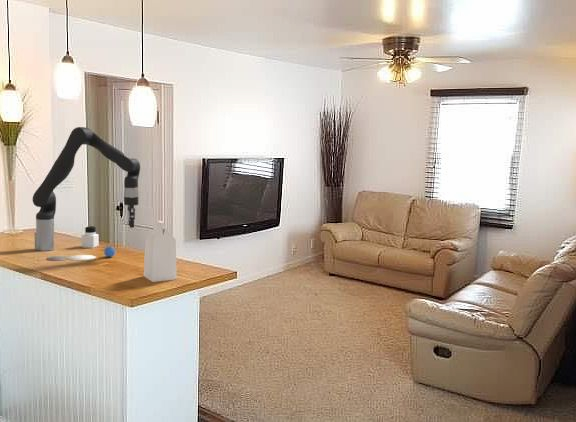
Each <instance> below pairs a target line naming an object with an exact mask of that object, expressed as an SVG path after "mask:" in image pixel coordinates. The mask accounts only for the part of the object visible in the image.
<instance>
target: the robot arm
mask: <svg viewBox="0 0 576 422" xmlns="http://www.w3.org/2000/svg"><path fill="white" fill-rule="evenodd" d="M70 132H71V133H70V134H69V135H68V139H67V141H66V143H65V145H64V147H63V148H62V150H61V152H60V153H59V155H58V157H57V158H56V160H55V161H54V163H53V165H52V167H51V169H50V170H49V172H48V173H47V175H46V176H45V178H44V180H43V181H42V183H41V184H40V185H39V187H38V188H37V189H36V190H35V192H34V193H33V196H32V203H33V205H34V206H35V207H37V208H40V209H39V211H37V213H35V214H36V215H35V232H34V250H36V251H43V252H45V251H53V250H55V215H56V211H57V210H56V209H57V197H56V194H55V192H54V190H55V189H56V188H57V187H58V186H59V185H60V184H61V183H63V182H64V181H65V180H66V179H67V177H68V176H69V175H70V173H71V172H72V170H73V169H74V165H75V159H76V154H77V153H78V151H79V150H80V148H81V147H82V145H84V146H85V145H87V146H90V147H92V148H93V149H96V150H97V151H98V152H100V154H101V155H103V157H104V158H106V159H107V160H109V161H111V162H112V163H114V164H116V166H118V167H119V168H120V169H121V170H123V171H124V172H127V175H126V176H125V178H124V181H123V182H124V185H123V186H124V189H123V205H124V206H127V208H126V211H127V219H128V222H127V223H128V225H127V226H129V228H133V229H134V228H135V220H136V218H135V217H136V208H135V206H139V177H140V176H139V175H140V172H141V163H140V161H139V160H138V159H137V158H129V157H127V156H126V155H125V153H124V152H123V151H121V150H120V149H118V148H116V147H115V146H113V145H112V144H109V143H108V142H107V141H105V140H103V138H101V137H100V136H98V134H96V133H95V132H94V131H93V130H91V128H89V127H87V126H86V127H85V126H84V127H83V126H81V127H80V126H77V127H75V128H73V129H72V130H71V131H70Z"/></svg>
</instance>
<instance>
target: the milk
mask: <svg viewBox="0 0 576 422" xmlns="http://www.w3.org/2000/svg"><path fill="white" fill-rule="evenodd" d="M144 245H145V246H144V248H145V249H144V259H143V260H144V262H143V277H144V278H146V280H149V281H151V282H152V283H154V282H155V283H156V282H165V281H175V279H176V280H178V275H177V274H178V268H177V242H176V238H175V236H173V235H172V234H171V233H170V232H169V230H167V228H166V225H165V222H164V221H162V220H157V221H156V225H155V227H154V228H153V229H152V230H151V231H150V232H148V233H147V234H146V236H145V243H144Z"/></svg>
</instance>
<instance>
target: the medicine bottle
mask: <svg viewBox="0 0 576 422" xmlns="http://www.w3.org/2000/svg"><path fill="white" fill-rule="evenodd" d="M96 229H97V228H96V226H94V225H87V226H85V227H84V234H82V235H81V248H83V249H84V248H86V249H94V248H97V247H99V246H100V245H99V243H100V241H99V240H100V239H99V236H100V235H99V233H96Z"/></svg>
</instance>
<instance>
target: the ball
mask: <svg viewBox="0 0 576 422" xmlns="http://www.w3.org/2000/svg"><path fill="white" fill-rule="evenodd" d="M103 254H104V255H105V257H106V258H111V257H113V256H115V254H116V250H115V248H114V247H113V246H107V247H105V249H104V251H103Z"/></svg>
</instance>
